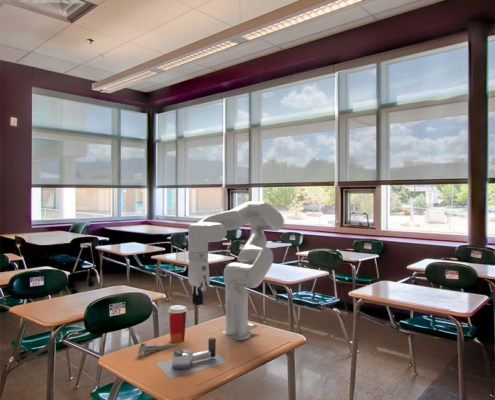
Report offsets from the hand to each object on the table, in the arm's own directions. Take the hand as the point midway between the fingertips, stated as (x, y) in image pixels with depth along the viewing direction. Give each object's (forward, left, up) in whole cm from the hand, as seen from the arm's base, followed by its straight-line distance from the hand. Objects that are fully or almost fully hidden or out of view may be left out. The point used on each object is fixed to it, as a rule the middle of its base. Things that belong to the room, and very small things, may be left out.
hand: (197, 303), depth 144 cm
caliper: (+11, -8, -20) cm, 24 cm away
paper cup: (+2, -16, -19) cm, 25 cm away
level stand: (+7, +10, -19) cm, 22 cm away
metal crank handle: (+6, +10, -17) cm, 21 cm away
